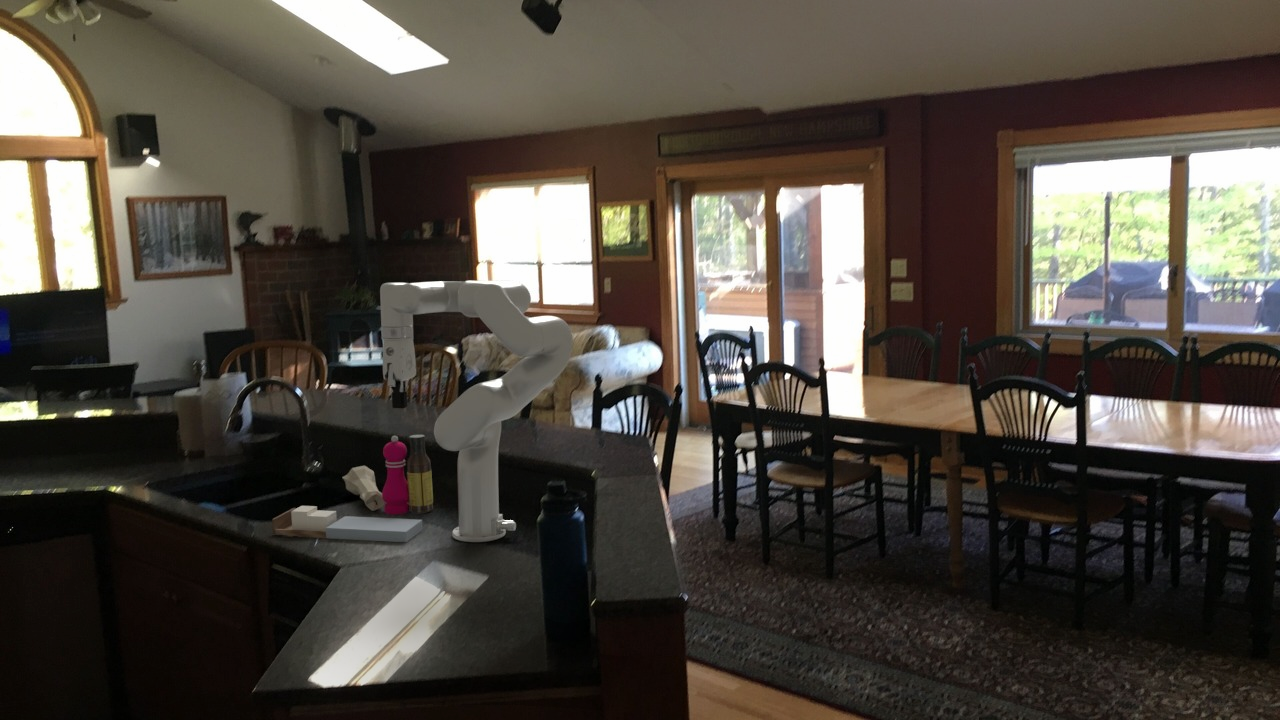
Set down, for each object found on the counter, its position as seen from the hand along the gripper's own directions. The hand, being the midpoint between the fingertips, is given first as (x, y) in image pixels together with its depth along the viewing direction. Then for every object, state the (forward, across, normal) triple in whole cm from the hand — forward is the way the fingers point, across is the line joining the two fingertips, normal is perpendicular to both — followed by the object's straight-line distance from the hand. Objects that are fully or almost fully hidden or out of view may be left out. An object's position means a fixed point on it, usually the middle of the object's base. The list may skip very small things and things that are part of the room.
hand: (399, 407), depth 241 cm
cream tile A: (+29, -10, +16) cm, 35 cm away
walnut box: (+29, -10, +20) cm, 37 cm away
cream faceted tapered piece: (+30, +17, +18) cm, 38 cm away
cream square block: (+26, -10, +19) cm, 34 cm away
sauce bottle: (+29, +11, 0) cm, 31 cm away
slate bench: (+29, -10, +3) cm, 31 cm away
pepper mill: (+29, +9, +6) cm, 31 cm away
